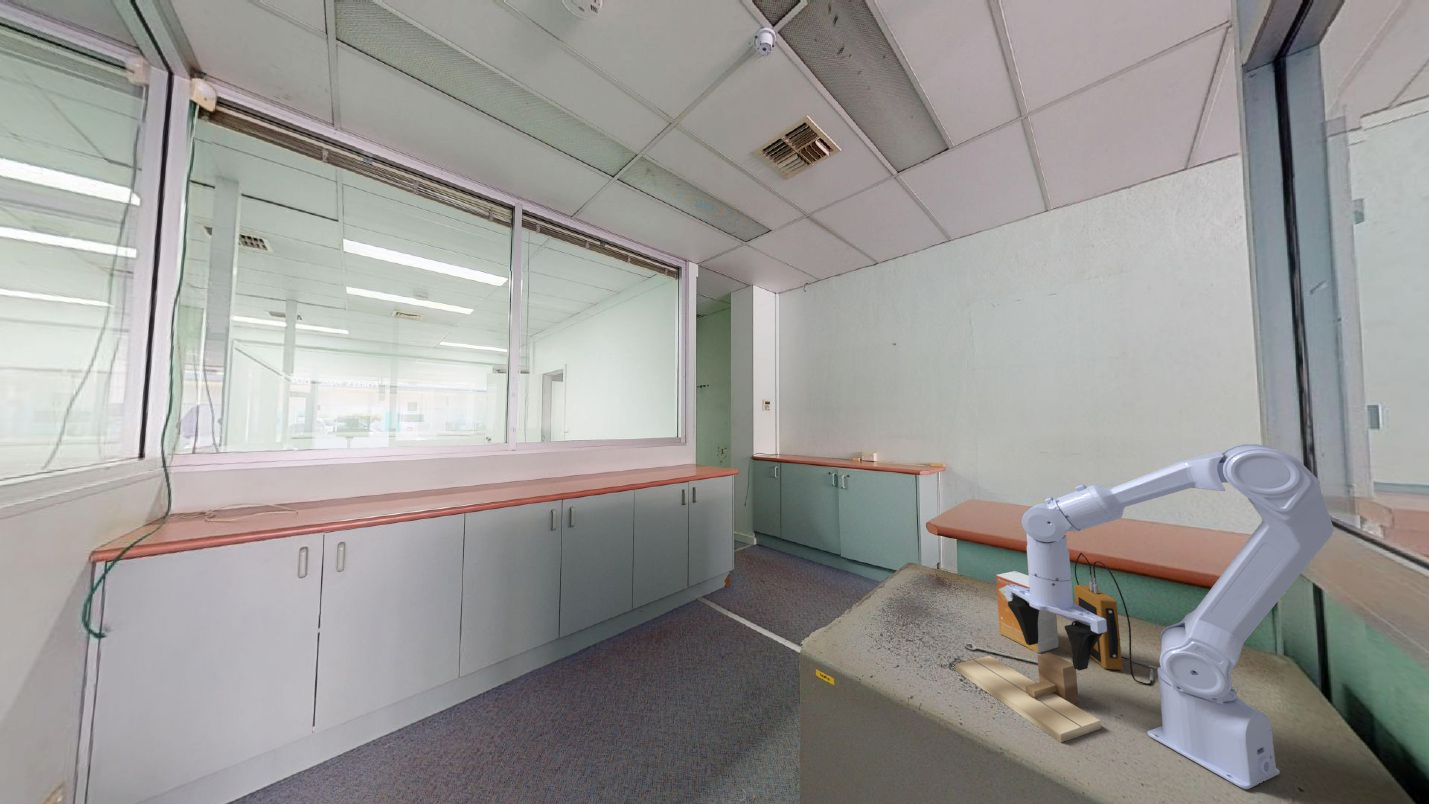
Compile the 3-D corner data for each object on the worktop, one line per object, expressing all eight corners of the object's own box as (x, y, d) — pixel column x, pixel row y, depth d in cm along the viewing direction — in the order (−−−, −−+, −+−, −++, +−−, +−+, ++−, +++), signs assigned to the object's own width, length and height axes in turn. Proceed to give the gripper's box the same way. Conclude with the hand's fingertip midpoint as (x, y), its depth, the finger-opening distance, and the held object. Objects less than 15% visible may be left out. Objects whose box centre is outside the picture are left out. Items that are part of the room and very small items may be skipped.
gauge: (1078, 702, 66) (1075, 665, 66) (1043, 713, 64) (1040, 674, 64) (1052, 687, 70) (1049, 652, 70) (1018, 697, 68) (1016, 661, 68)
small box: (999, 634, 87) (994, 574, 88) (1019, 629, 89) (1015, 570, 90) (1038, 654, 80) (1033, 588, 80) (1060, 648, 82) (1055, 583, 82)
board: (1100, 728, 60) (1100, 720, 60) (1061, 742, 58) (1060, 733, 58) (989, 661, 78) (989, 655, 78) (955, 670, 75) (955, 664, 75)
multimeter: (1190, 689, 68) (1178, 571, 70) (1121, 683, 70) (1111, 569, 71) (1121, 643, 83) (1112, 545, 84) (1066, 639, 85) (1058, 544, 86)
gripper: (992, 563, 75) (996, 637, 74) (1081, 595, 61) (1088, 686, 60) (1019, 559, 77) (1024, 631, 76) (1112, 588, 63) (1120, 677, 62)
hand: (1055, 655), depth 68 cm, fingers open, 7 cm apart
